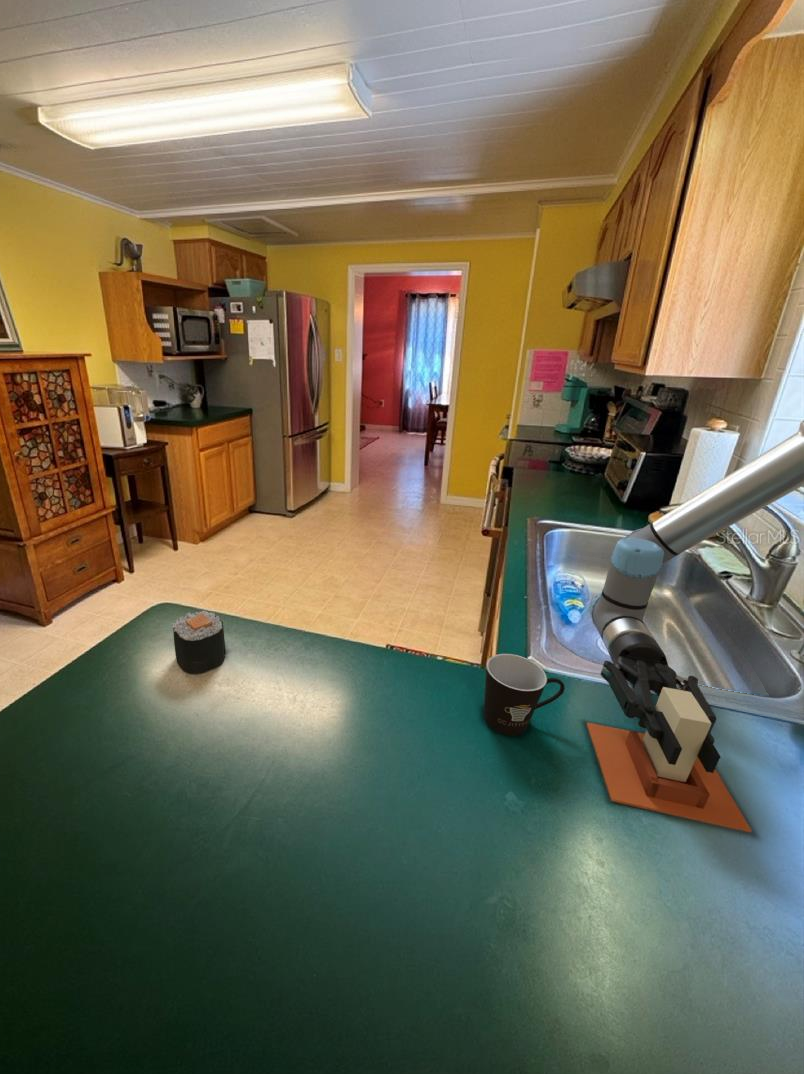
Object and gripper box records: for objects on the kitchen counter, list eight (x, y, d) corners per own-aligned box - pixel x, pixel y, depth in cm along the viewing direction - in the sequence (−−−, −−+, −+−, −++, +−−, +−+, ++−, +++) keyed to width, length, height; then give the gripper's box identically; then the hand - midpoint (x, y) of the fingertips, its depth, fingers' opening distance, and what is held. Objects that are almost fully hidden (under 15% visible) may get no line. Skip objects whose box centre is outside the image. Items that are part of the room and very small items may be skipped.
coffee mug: (471, 733, 71) (482, 679, 68) (480, 698, 79) (490, 648, 75) (553, 760, 67) (569, 705, 64) (554, 720, 75) (569, 669, 71)
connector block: (668, 747, 67) (691, 691, 64) (685, 782, 62) (711, 723, 58) (641, 742, 68) (662, 686, 64) (656, 776, 62) (680, 717, 59)
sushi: (210, 640, 89) (207, 603, 86) (232, 661, 84) (231, 623, 81) (168, 656, 84) (164, 617, 81) (189, 680, 79) (185, 639, 76)
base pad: (698, 750, 71) (706, 731, 69) (748, 837, 58) (760, 816, 57) (585, 728, 74) (590, 709, 72) (609, 806, 61) (617, 785, 60)
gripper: (680, 678, 79) (759, 798, 58) (575, 659, 82) (613, 767, 61) (695, 640, 76) (783, 752, 55) (586, 623, 79) (629, 722, 58)
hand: (694, 759), depth 58 cm, fingers closed on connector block, 3 cm apart
